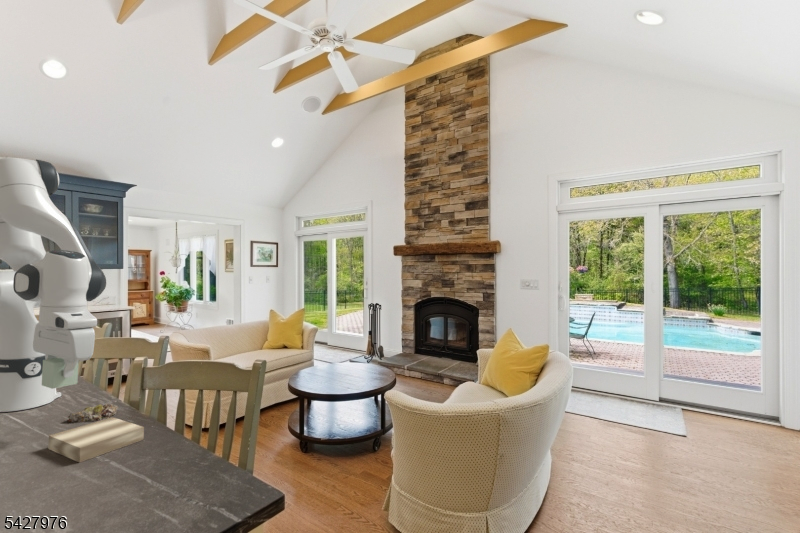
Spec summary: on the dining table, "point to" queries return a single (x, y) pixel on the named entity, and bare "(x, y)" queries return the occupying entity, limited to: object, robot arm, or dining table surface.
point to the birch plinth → (95, 439)
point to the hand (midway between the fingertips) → (60, 374)
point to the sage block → (57, 374)
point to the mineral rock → (93, 413)
